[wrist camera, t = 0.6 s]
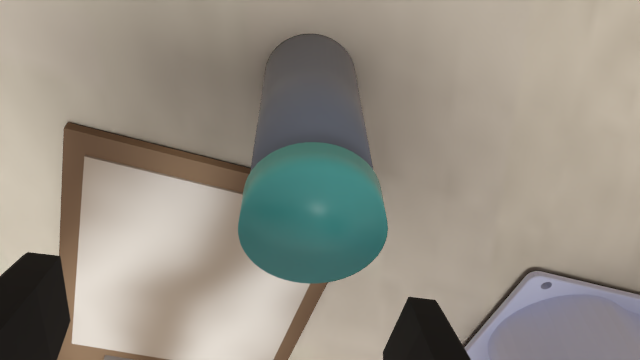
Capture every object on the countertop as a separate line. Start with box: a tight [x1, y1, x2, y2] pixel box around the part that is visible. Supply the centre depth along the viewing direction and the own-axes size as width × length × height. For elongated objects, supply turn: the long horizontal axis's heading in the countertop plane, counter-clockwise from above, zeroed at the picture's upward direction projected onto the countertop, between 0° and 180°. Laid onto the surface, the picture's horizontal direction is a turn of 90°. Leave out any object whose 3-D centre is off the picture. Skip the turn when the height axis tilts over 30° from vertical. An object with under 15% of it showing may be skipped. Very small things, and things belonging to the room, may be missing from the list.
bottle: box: [238, 34, 388, 284], centre depth 15 cm, size 3×3×8 cm
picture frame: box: [57, 122, 328, 360], centre depth 24 cm, size 12×16×1 cm
